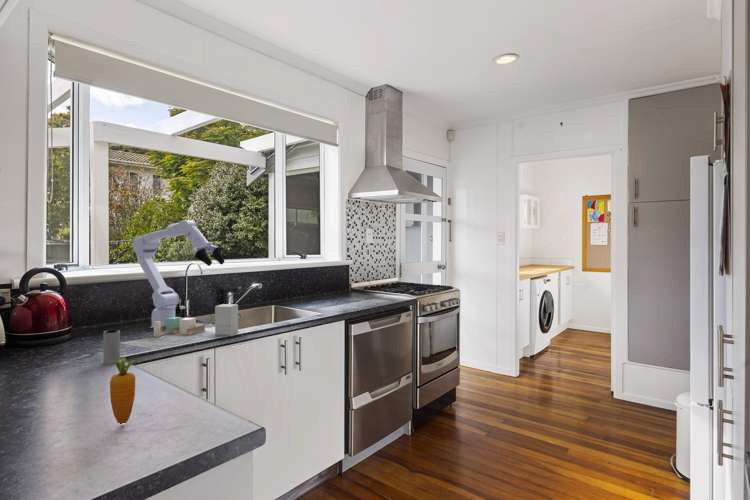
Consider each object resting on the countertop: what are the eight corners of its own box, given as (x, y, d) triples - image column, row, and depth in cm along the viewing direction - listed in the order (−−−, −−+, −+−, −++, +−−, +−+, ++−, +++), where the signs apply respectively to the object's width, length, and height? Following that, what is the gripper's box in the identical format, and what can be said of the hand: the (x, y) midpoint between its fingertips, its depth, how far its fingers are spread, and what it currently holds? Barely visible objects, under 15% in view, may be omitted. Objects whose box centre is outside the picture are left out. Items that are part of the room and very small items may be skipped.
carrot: (116, 421, 93) (116, 354, 93) (140, 421, 93) (140, 354, 93) (104, 431, 88) (104, 360, 88) (129, 431, 88) (129, 360, 88)
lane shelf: (158, 334, 178) (158, 326, 178) (175, 329, 188) (175, 322, 188) (189, 336, 174) (189, 328, 174) (204, 331, 184) (204, 324, 184)
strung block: (150, 336, 171) (150, 322, 171) (172, 330, 184) (172, 316, 184) (159, 337, 170) (159, 322, 170) (181, 330, 183) (181, 317, 183)
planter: (123, 361, 138) (123, 330, 138) (110, 365, 134) (110, 333, 134) (113, 360, 140) (112, 329, 140) (100, 363, 136) (100, 332, 135)
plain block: (179, 333, 178) (179, 319, 178) (186, 331, 182) (186, 317, 182) (188, 334, 177) (188, 320, 176) (195, 332, 181) (195, 318, 181)
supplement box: (238, 332, 183) (238, 304, 183) (231, 336, 176) (231, 306, 175) (222, 332, 184) (222, 303, 183) (214, 336, 176) (214, 306, 176)
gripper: (191, 235, 177) (209, 258, 174) (215, 234, 191) (233, 256, 188) (182, 246, 179) (200, 270, 176) (207, 245, 193) (224, 267, 190)
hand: (216, 263), depth 182 cm, fingers open, 7 cm apart
